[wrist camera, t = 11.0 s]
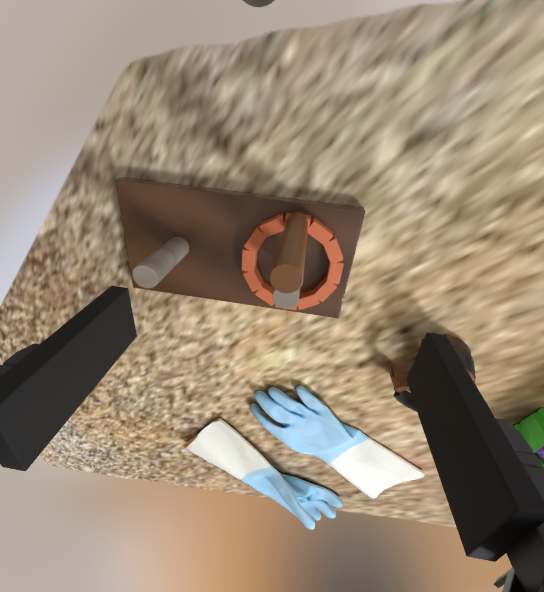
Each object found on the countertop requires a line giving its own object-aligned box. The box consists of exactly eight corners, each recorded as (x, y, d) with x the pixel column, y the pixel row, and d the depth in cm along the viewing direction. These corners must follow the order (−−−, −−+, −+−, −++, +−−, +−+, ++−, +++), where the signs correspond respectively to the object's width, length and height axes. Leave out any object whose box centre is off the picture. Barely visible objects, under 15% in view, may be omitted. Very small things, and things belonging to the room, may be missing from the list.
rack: (123, 177, 33) (58, 195, 24) (363, 207, 31) (380, 237, 23) (139, 282, 39) (92, 324, 31) (337, 311, 38) (343, 364, 29)
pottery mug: (477, 371, 40) (471, 431, 36) (402, 358, 45) (389, 408, 41) (480, 315, 32) (472, 382, 28) (389, 307, 38) (371, 362, 34)
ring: (247, 203, 31) (204, 252, 19) (352, 216, 30) (375, 275, 18) (242, 296, 36) (207, 377, 25) (331, 309, 36) (337, 399, 24)
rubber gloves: (281, 365, 43) (276, 401, 38) (425, 471, 51) (438, 513, 45) (185, 441, 56) (171, 476, 50) (312, 516, 64) (312, 554, 58)
